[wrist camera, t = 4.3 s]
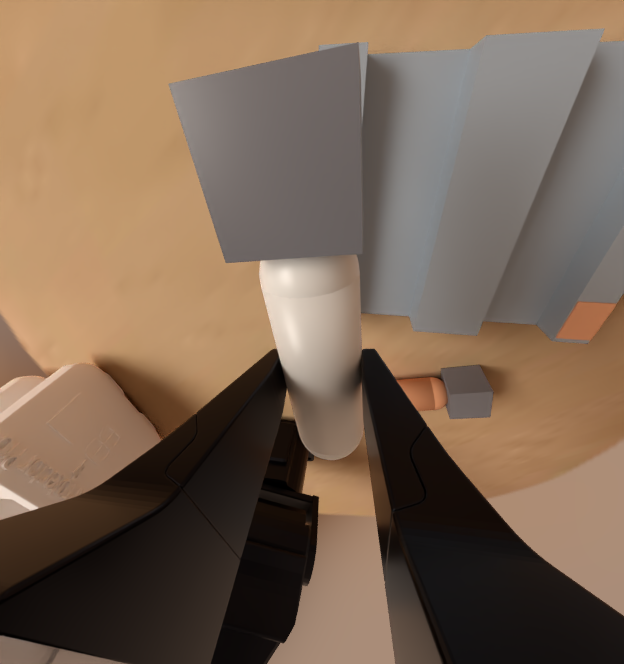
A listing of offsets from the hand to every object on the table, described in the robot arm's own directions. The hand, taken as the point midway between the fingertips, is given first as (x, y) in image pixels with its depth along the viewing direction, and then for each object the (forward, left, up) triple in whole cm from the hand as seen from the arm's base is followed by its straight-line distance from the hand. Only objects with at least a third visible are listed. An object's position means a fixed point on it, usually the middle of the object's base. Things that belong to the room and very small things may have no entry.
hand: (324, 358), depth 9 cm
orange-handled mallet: (-11, -6, -11) cm, 17 cm away
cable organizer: (-19, +27, -11) cm, 35 cm away
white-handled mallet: (+1, 0, -1) cm, 1 cm away
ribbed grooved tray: (+3, -7, -11) cm, 13 cm away
